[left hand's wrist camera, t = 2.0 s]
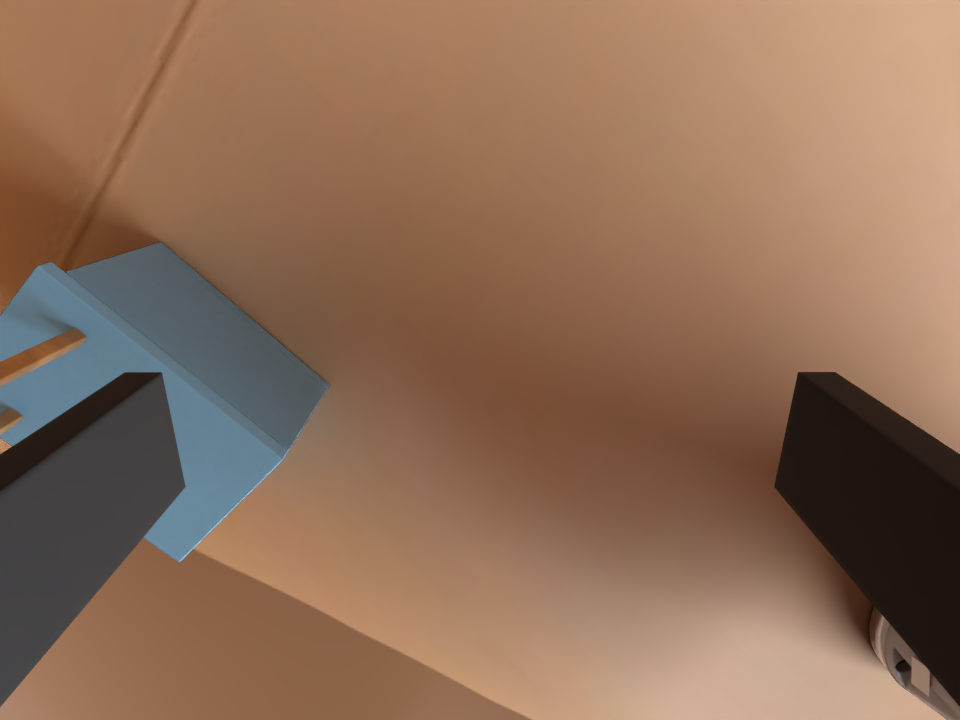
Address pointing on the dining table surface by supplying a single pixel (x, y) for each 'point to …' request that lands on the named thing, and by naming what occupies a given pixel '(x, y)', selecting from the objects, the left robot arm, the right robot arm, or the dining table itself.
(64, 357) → the lid
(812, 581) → the dining table surface
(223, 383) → the chest
